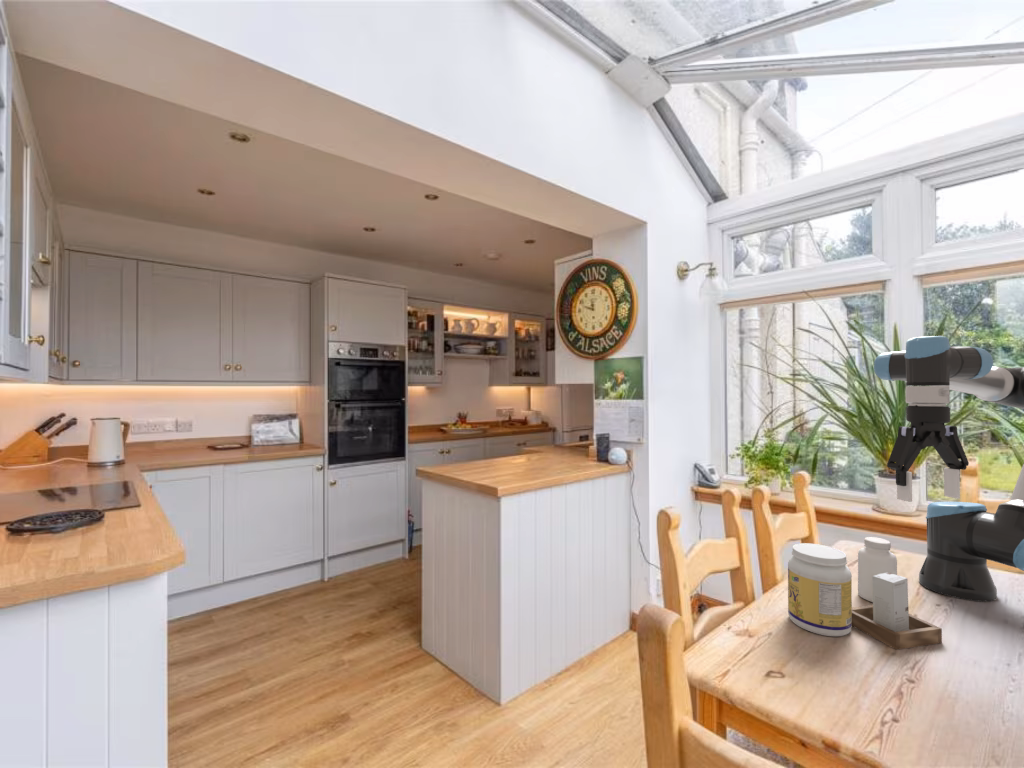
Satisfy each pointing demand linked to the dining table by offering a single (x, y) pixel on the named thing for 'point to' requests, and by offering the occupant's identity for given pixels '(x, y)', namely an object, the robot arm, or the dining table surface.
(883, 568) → the pill bottle
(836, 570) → the supplement tub
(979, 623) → the dining table surface
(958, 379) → the robot arm
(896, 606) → the skincare box
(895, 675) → the dining table surface
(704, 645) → the dining table surface
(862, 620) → the holder
